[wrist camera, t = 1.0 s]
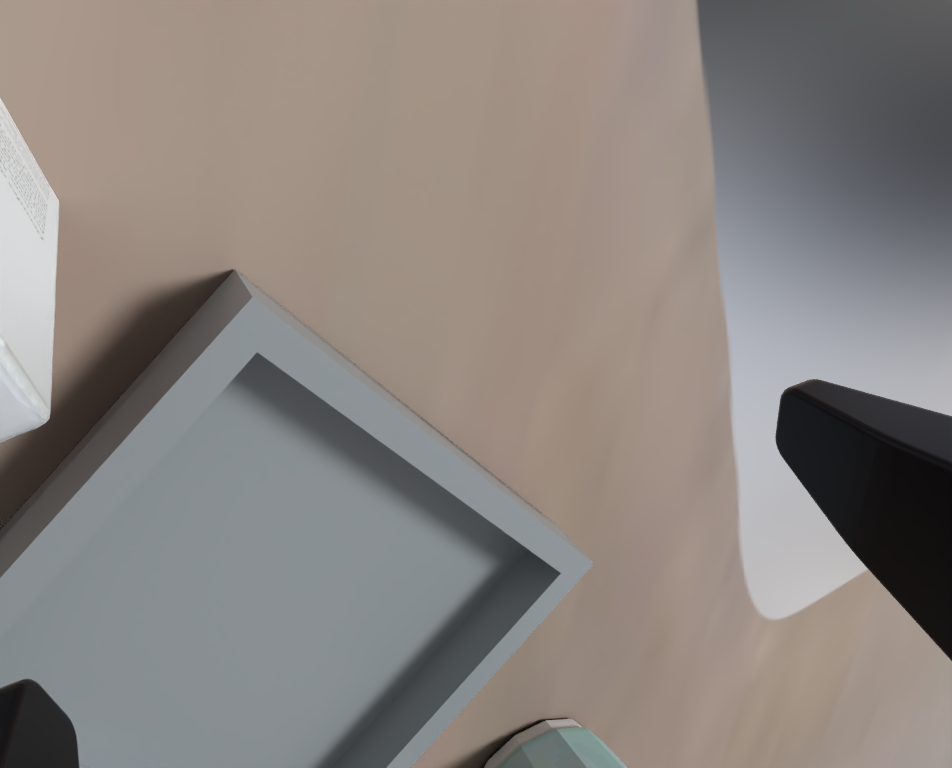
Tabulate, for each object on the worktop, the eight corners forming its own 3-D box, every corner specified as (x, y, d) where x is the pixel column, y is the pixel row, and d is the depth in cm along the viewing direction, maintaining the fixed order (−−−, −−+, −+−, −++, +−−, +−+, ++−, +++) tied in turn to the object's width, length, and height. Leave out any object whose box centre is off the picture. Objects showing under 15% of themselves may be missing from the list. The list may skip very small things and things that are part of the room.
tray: (286, 827, 29) (302, 888, 27) (-167, 716, 19) (-196, 796, 17) (557, 525, 29) (593, 563, 27) (234, 269, 19) (252, 297, 17)
